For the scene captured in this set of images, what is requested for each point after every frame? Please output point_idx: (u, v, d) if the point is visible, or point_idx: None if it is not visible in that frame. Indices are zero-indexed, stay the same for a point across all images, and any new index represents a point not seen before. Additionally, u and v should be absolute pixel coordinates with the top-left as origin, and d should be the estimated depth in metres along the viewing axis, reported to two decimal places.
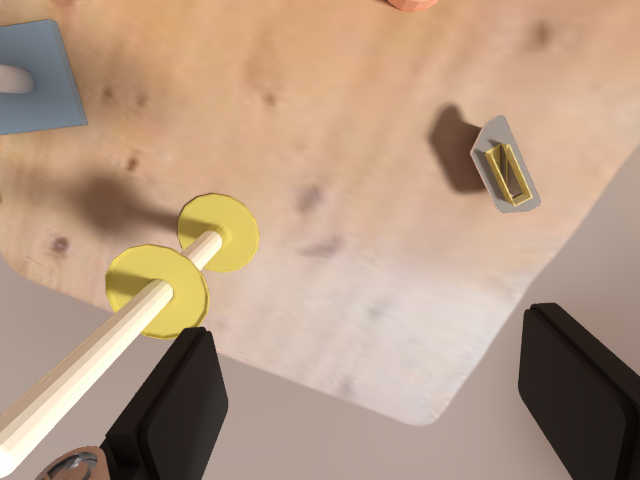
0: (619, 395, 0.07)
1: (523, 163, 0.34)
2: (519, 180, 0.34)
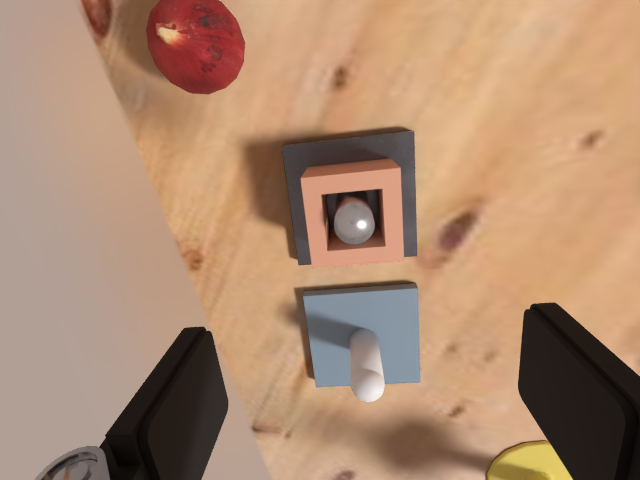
0: (619, 395, 0.07)
1: None
2: None
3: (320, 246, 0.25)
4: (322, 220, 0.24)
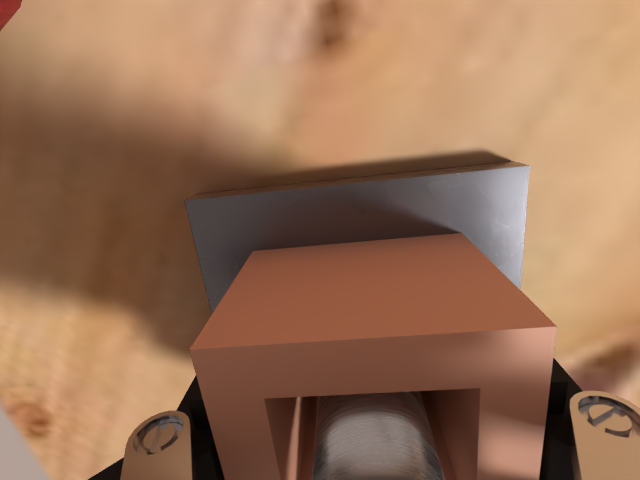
0: None
1: None
2: None
3: None
4: (273, 466, 0.07)
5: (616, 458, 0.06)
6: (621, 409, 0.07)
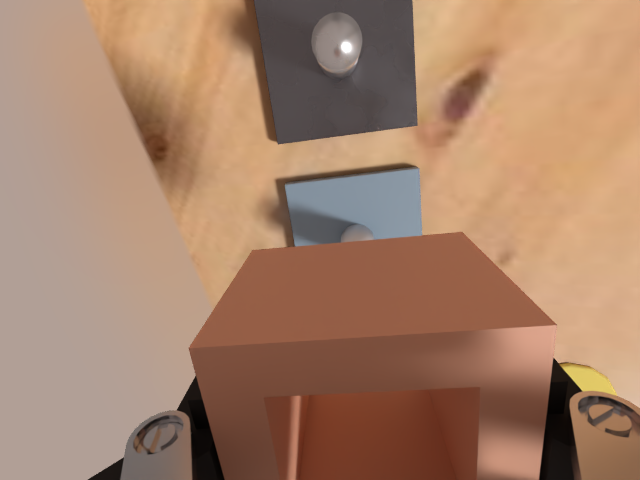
0: None
1: None
2: None
3: None
4: (273, 465, 0.07)
5: (616, 458, 0.06)
6: (621, 409, 0.07)
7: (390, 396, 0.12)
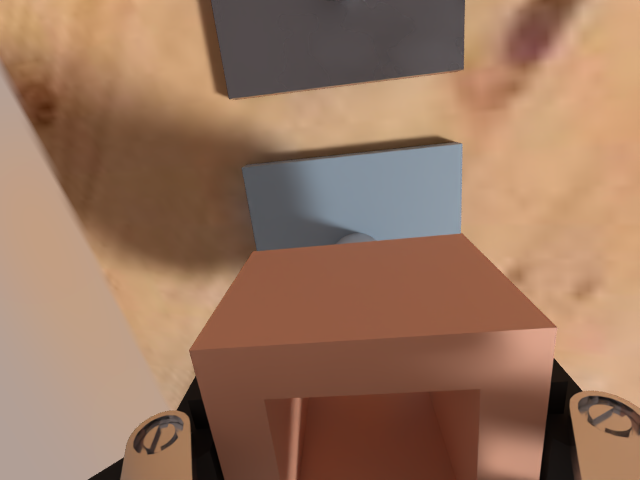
0: None
1: None
2: None
3: None
4: (273, 467, 0.07)
5: (616, 458, 0.06)
6: (621, 409, 0.07)
7: (390, 398, 0.12)
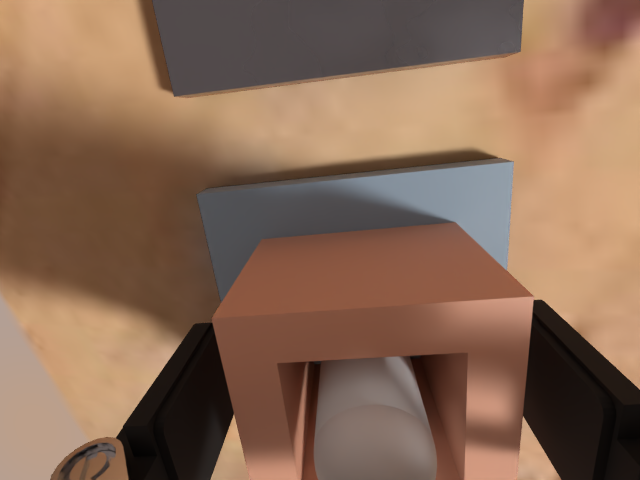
0: (598, 388, 0.07)
1: None
2: None
3: None
4: (284, 426, 0.08)
5: None
6: None
7: None
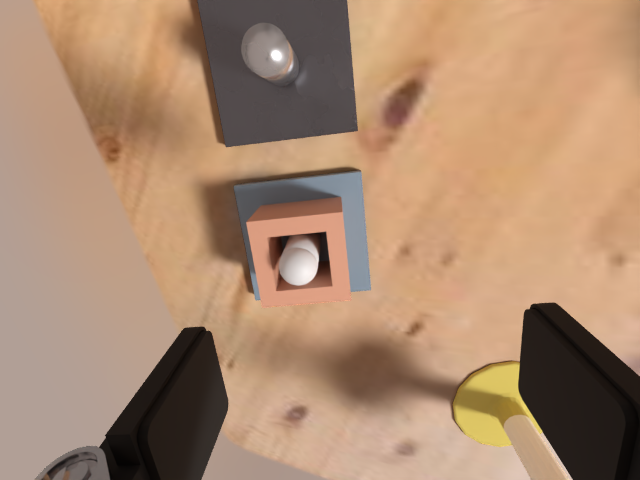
0: (619, 395, 0.07)
1: None
2: None
3: (269, 286, 0.25)
4: (269, 262, 0.25)
5: None
6: None
7: None
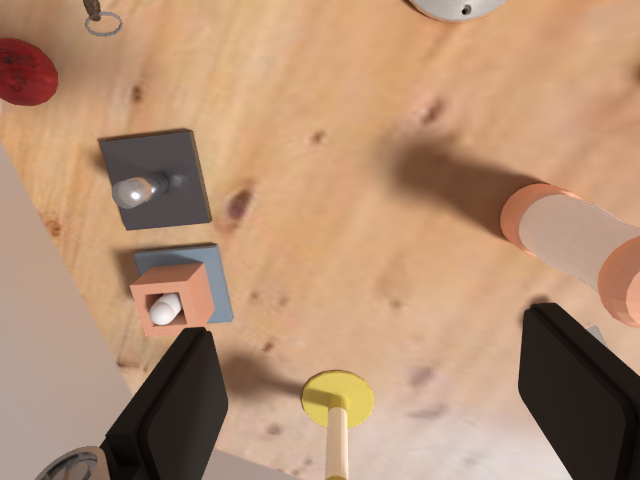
0: (619, 395, 0.07)
1: None
2: None
3: (148, 323, 0.40)
4: (146, 309, 0.39)
5: None
6: None
7: None
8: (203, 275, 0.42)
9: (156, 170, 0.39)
